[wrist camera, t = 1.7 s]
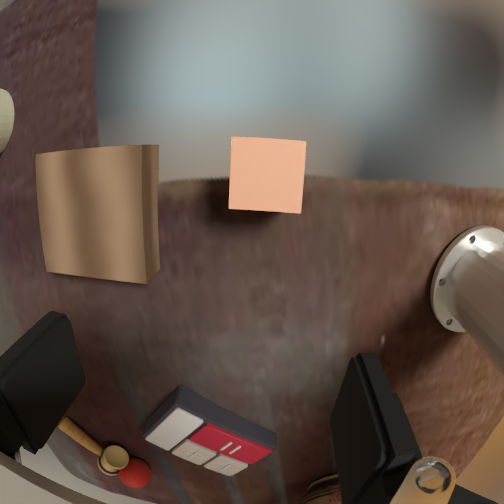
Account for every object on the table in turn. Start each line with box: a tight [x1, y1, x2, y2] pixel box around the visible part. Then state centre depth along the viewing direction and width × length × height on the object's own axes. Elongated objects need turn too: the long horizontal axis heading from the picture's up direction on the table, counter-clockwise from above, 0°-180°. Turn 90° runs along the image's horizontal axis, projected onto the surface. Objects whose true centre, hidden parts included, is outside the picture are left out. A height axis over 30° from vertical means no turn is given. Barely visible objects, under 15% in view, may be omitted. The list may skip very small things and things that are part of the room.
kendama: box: [58, 417, 151, 488], centre depth 40 cm, size 8×6×18 cm
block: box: [229, 137, 306, 213], centre depth 23 cm, size 5×5×6 cm
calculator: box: [142, 385, 276, 476], centre depth 36 cm, size 11×4×15 cm
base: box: [36, 145, 160, 284], centre depth 27 cm, size 12×12×4 cm
